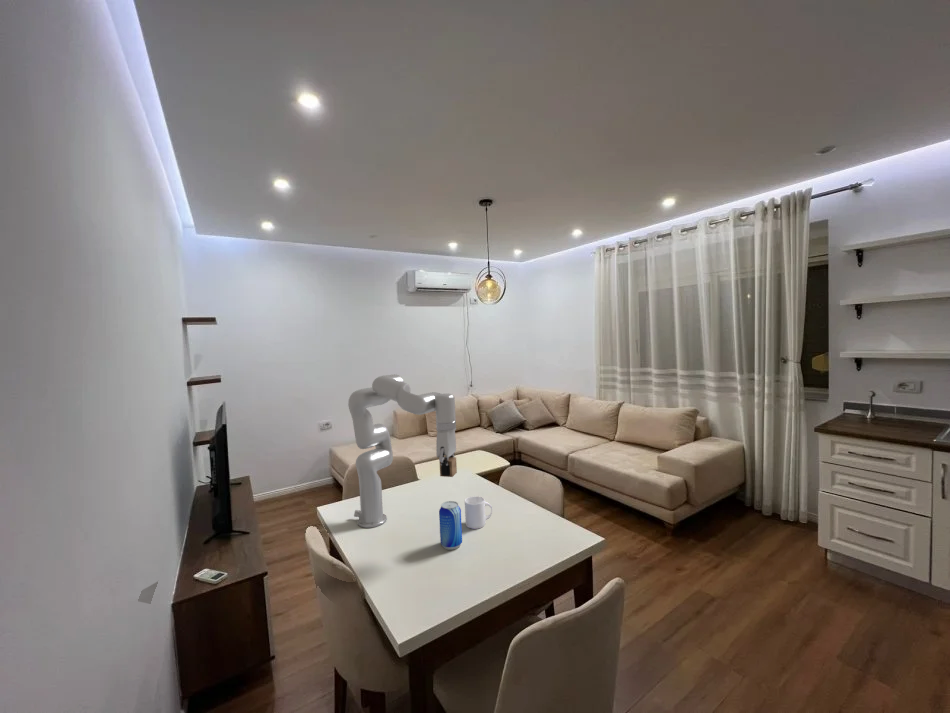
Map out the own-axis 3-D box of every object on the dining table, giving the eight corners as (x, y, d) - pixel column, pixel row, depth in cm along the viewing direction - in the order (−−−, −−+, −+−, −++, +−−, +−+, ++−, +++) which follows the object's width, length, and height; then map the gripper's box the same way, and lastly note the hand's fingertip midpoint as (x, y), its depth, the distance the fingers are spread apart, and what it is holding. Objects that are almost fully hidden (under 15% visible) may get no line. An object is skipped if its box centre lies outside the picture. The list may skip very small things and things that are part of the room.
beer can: (436, 546, 149) (434, 505, 149) (451, 537, 156) (450, 498, 155) (451, 553, 144) (449, 511, 143) (466, 544, 150) (465, 503, 149)
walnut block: (440, 476, 147) (439, 460, 147) (444, 471, 152) (444, 456, 152) (452, 477, 146) (451, 461, 145) (456, 472, 150) (456, 457, 150)
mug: (495, 526, 164) (494, 501, 163) (468, 530, 161) (467, 505, 160) (489, 517, 172) (488, 493, 171) (463, 521, 169) (462, 497, 168)
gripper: (444, 421, 157) (446, 465, 158) (428, 431, 141) (430, 480, 142) (462, 421, 155) (464, 466, 156) (447, 431, 139) (450, 481, 139)
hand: (448, 472), depth 149 cm, fingers closed on walnut block, 5 cm apart
